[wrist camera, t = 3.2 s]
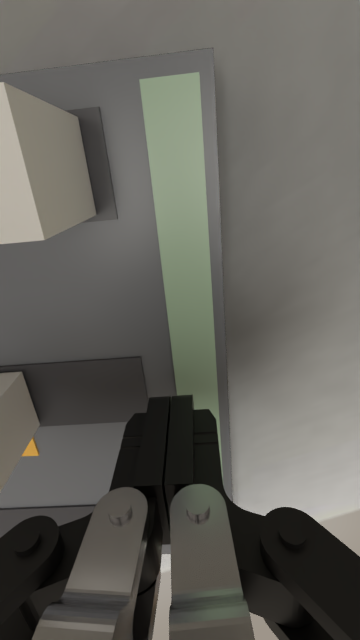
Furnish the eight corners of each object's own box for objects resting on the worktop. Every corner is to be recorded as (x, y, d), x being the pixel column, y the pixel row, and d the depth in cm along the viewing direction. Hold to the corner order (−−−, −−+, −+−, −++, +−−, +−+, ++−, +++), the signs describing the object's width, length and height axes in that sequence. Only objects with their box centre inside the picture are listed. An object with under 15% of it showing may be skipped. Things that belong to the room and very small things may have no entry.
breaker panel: (-290, 133, 12) (-408, 125, 10) (208, 73, 11) (213, 46, 8) (-62, 518, 21) (-95, 563, 18) (229, 507, 19) (235, 553, 17)
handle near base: (-6, 126, 9) (-133, 98, 6) (77, 116, 9) (3, 81, 5) (21, 222, 10) (-71, 251, 7) (96, 214, 10) (44, 240, 7)
